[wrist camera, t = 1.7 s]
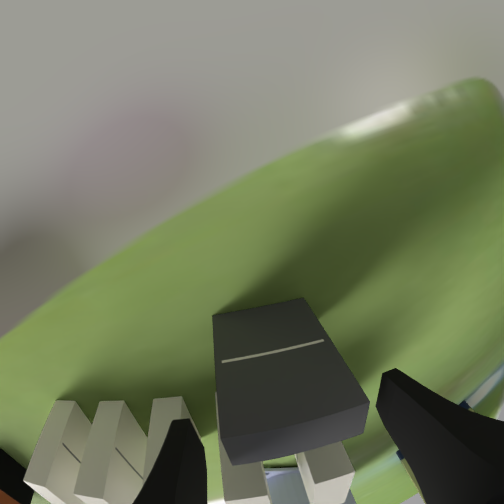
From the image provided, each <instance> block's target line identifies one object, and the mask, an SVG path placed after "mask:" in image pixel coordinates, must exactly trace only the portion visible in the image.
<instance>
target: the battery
mask: <svg viewBox="0 0 504 504" xmlns="http://www.w3.org/2000/svg"><path fill="white" fill-rule="evenodd" d="M26 471H27V470H26V469H25V468H23V467H22V466H21V465H20V464H18V463H17V462H16V461H15V460H13V459H12V458H11V457H10V456H9V455H7V454H6V453H5V452H4V451H3V450H1V449H0V504H31V500H32V497H33V493H34V489H32V488H31V487H30V486H29V485H28V484H26V483H25V482H24V481H23V479H24V477H25V474H26Z"/></svg>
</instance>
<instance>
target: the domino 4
mask: <svg viewBox="0 0 504 504" xmlns="http://www.w3.org/2000/svg"><path fill="white" fill-rule="evenodd" d="M215 400H216V415H217V428H218V440H219V451H220V462H221V472H222V482H223V491H224V500H225V502H226V504H272V500H271V496H270V492H269V487H268V483H267V478H266V474H265V469H264V465H263V461H260V462H255V463H249V464H242V465H235V466H232V464H231V462H230V460H229V457H228V455H227V453H226V451H225V448H224V446H223V444H222V441H221V439H220V428H219V417H218V404H217V392H215Z"/></svg>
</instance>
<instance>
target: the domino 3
mask: <svg viewBox="0 0 504 504" xmlns="http://www.w3.org/2000/svg"><path fill="white" fill-rule="evenodd" d="M187 418H190V420H191V422H192V424H193V427H194V429H195V431H196V433H197V435H198V437H199V439H200V440H201V436H200V434H199V432H198V430H197V428H196V426H195V424H194V422H193V420H192V417H191V415H190V413H189V411H188V409H187V407H186V404H185V402H184V400H183V398H182V396H178V397H168V398H156V399H153V404H152V410H151V417H150V424H149V431H148V439H147V447H146V455H145V464H144V473H143V483H142V487H143V485H144V483H145V481H146V479H147V477H148V476H149V474H150V472H151V470H152V468H153V465H154V463H155V461H156V459H157V457H158V455H159V452H160V450H161V448H162V445H163V443H164V440H165V438H166V435H167V432H168V430H169V427H170V424H171V422H172V421H173V420H176V419H187Z"/></svg>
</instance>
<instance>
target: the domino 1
mask: <svg viewBox="0 0 504 504" xmlns="http://www.w3.org/2000/svg"><path fill="white" fill-rule="evenodd" d="M91 426H92V424H91V422H90V421H89V420H88V418H87V417H86V415H85V414H84V413H83V411H82V410H81V408H80V407H79V405H78V404H77V402H76V401H65V400H56V401H55V403H54V405H53V407H52V409H51V412H50V414H49V416H48V418H47V421H46V423H45V425H44V427H43V430H42V432H41V435H40V437H39V439H38V442H37V444H36V447H35V449H34V452H33V455H32V457H31V460H30V463H29V465H28V468H27V471H26V474H25V477H24V479H23V481H24V482H25V483H26V484H28V485H29V486H30V487H31V488H32V489H34V490H35V491H36V492H37V493H39V494H40V495H41V496H42V497H44V498H45V499H46V500H48V501H49V502H50V503H52V504H86V503H84V502H83V501H82V500H80V499H79V498H78V497H77V496H75V495H74V494H73V493H74V488H75V484H76V480H77V476H78V472H79V468H80V464H81V461H82V457H83V453H84V450H85V446H86V443H87V439H88V436H89V433H90V430H91Z"/></svg>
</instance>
